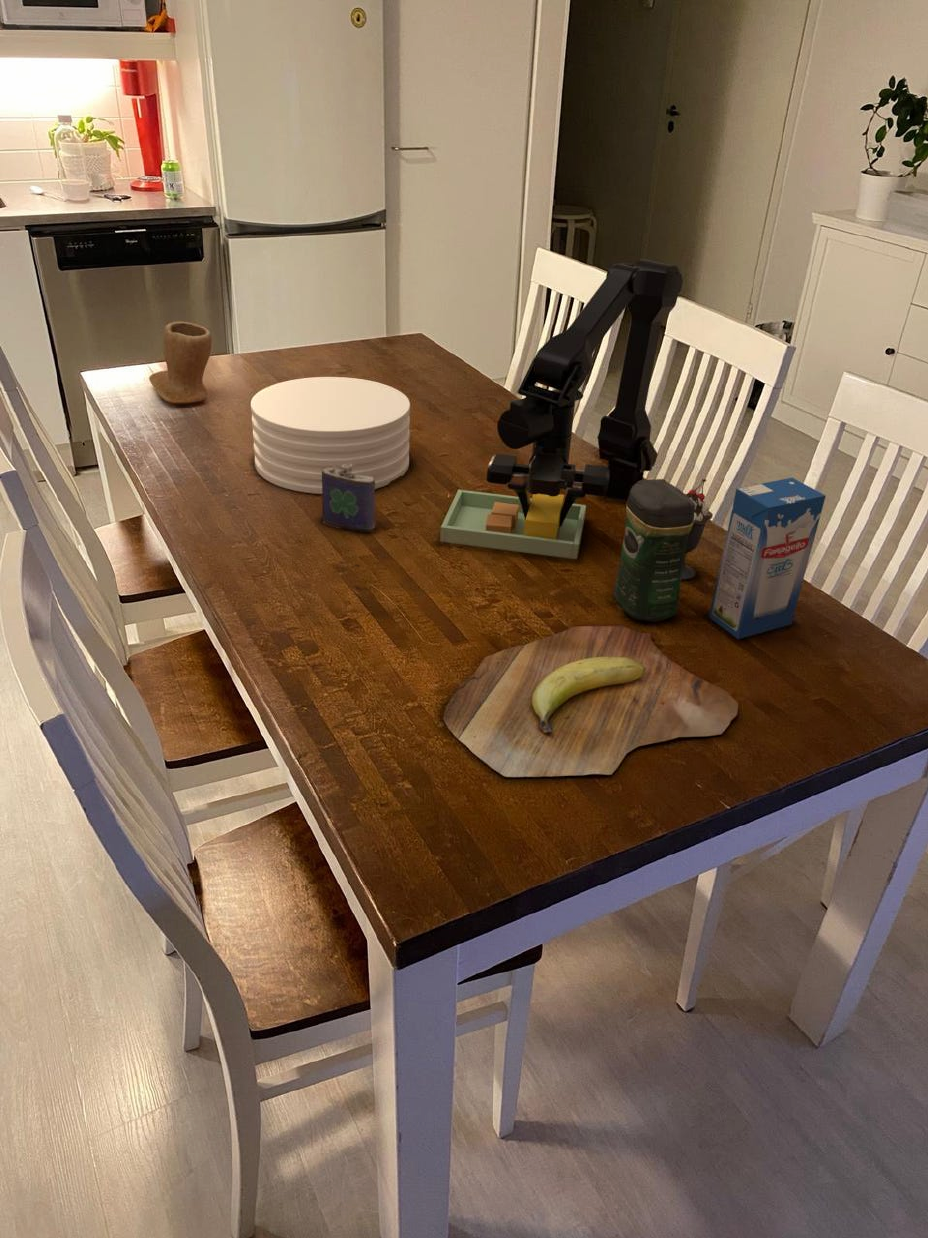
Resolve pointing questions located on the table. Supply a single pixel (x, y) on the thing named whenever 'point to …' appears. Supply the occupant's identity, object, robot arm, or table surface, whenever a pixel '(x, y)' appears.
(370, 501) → the flask
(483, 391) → the table surface
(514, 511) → the block
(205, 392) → the brown boot
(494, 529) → the block
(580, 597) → the table surface
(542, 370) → the robot arm
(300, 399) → the plate stack
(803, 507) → the milk carton
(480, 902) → the table surface
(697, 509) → the sundae
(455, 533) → the tray
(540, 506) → the sponge
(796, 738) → the table surface
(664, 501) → the coffee jar
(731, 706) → the cutting board
